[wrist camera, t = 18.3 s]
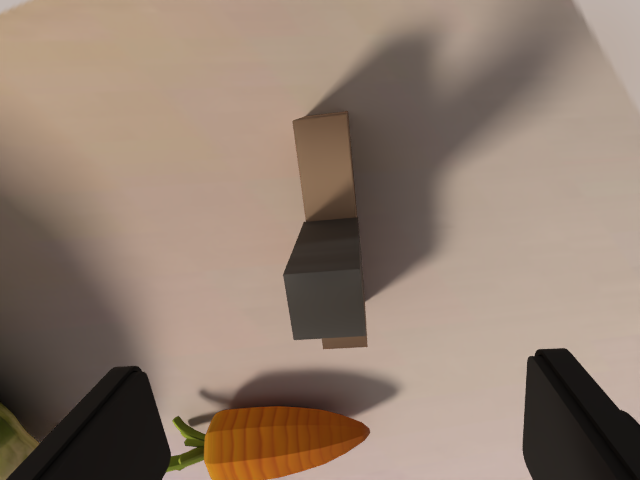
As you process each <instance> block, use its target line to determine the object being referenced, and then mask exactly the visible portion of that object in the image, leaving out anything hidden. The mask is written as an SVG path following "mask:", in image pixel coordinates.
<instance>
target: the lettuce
mask: <svg viewBox="0 0 640 480" xmlns="http://www.w3.org/2000/svg"><path fill="white" fill-rule="evenodd" d="M39 444H40V443H39V442H38V441H36V440H35V439H34V438H33V437H32V436H31V435H29V434H28V433H27V432H26V431H25V429H24V428H23V427H22V425H21V424H20V423H19V421H18V420H17V419H16V417H15V416H14V415H13V413H12V412H10V411H9V410H8V409H7V408H6V407H5V406H4V405H3V404H2V403H1V402H0V480H6V479H7V478H8V477H9V476H10V474H11V473H12V472H13V471H14V470H15V469H16V468H17V467H18V466H19V465H20V464H21V463H22V462H23V461H24V460H25V459H26V458H27V457H28V456H29V455H30V454H31V453H32V451H33V450H34V449H35V448H36V447H37V446H38V445H39Z"/></svg>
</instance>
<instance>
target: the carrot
mask: <svg viewBox="0 0 640 480" xmlns="http://www.w3.org/2000/svg"><path fill="white" fill-rule="evenodd" d="M173 423H174V425H175V426H176V427H177V428H178V430H179V431H180V432H181V434H182V436H184V437H185V438H187V439H186V440H185V442H184V443H185V446H193V447H197V448H195V449H192V450H191V451H189V452H186V453H183V454H181V455H176V456H171V459H170V464H169V467H168V469H167V471H166V472H169V471H173V470H179V471H180V470H182V469H183V468H185V467H187V466H189V465H192V464H195V463H197V462H200V461H202V460H204V461H205V464H206V467H207V469H208V472H209V474H210V477H211V479H212V480H266V479H273V478H279V477H283V476H287V475H290V474H294V473H298V472H301V471H304V470H307V469H310V468H314V467H317V466H320V465H323V464H325V463H327V462H329V461H331V460H333V459H335V458H337V457H339V456H341V455H343V454H345V453H347V452H348V451H350V450H351V449H353V448H354V447H356V446H357V445H359V444H360V443H362V442H363V441H364V440H365V439H366V438H367V436H368V435H369V434H370V429H369V428H368V427H367V426H366V425H364V424H363V423H362V422H359V421H357V420H354V419H351V418H349V417H346V416H344V415H341V414H337V413H333V412H329V411H325V410H319V409H309V408H299V407H283V406H272V407H253V408H241V409H229V410H223V411H220V412H218V413H216V414H215V416H214V417H213V418H212V421H211V423H210V425H209V428H208V430H207V433H206V435H205V434H203V433H201V432H199V431H196V430H194V429H193V428H191V427H189V426H188V425H186V424H185V423H184V422H183V421H182V419H181V418H180V417H179V416H177V417H176V418H174V419H173Z"/></svg>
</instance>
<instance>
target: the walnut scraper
mask: <svg viewBox="0 0 640 480" xmlns="http://www.w3.org/2000/svg"><path fill="white" fill-rule="evenodd" d="M293 129H294V136H295V143H296V151H297V158H298V166H299V173H300V180H301V188H302V195H303V203H304V210H305V217H306V222H304V223H303V226H302V228H301V231H300V234H299V236H298V239H297V241H296V244H295V246H294V249H293V251H292V254H291V256H290V259H289V261H288V264H287V266H286V269H285V271H284V274H283V277H284V283H285V289H286V295H287V301H288V307H289V313H290V320H291V326H292V332H293V338H294V340H303V339H321V338H322V343H323V349H335V348H354V347H367V331H366V314H365V299H364V288H363V271H362V258H361V247H360V236H359V224H358V217H357V209H356V198H355V186H354V175H353V164H352V153H351V141H350V130H349V119H348V111H345V112H337V113H329V114H321V115H312V116H305V117H302V118H299V119H296V120H294V121H293Z"/></svg>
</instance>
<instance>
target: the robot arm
mask: <svg viewBox="0 0 640 480" xmlns="http://www.w3.org/2000/svg"><path fill="white" fill-rule="evenodd" d="M523 456H524V460H525V463H526V466H527V468H528V470H529V472H530V474H531V477H532V479H533V480H640V425H639V424H638V423H637V422H636V420H635V419H634V418H633V417H631V416H630V415H629V414H628V413H627V412H624V411H622V410H619V408H618V407H617V406H616V405H615V404H614V403H613V401H612V400H611V399H610V398H609V397H608V396H607V394H606V393H605V392H604V391H603V390H602V389H601V388H600V386H599V385H598V384H597V383H596V382H595V381H594V379H593V378H592V377H591V376H590V375H589V374H588V372H587V371H586V370H585V369H584V368H583V367H582V365H581V364H580V363H579V362H578V361H577V360H576V359H575V357H574V356H573V355H572V354H571V353H570V352H569V351H568V350H567V349H564V348H560V349H538V350H537V351H536V353H535V356H530V357H529V358H528V361H527V376H526V394H525V412H524V430H523ZM170 459H171V452H170V448H169V445H168V442H167V438H166V435H165V432H164V429H163V425H162V422H161V419H160V415H159V412H158V409H157V406H156V402H155V399H154V396H153V393H152V389H151V386H150V383H149V379H148V376H147V374H146V373H145V372H142V371H141V369H140V368H139V367H137V366H127V367H115V368H113V369H111V370H110V371H109V372H108V373H107V374H106V375H105V376H104V377H103V378H102V379H101V380H100V381H99V383H98V384H97V385H96V386H95V387H94V388H93V389H92V390H91V391H90V392H89V393H88V394H87V395H86V396H85V397H84V398H83V399H82V400H81V401H80V402H79V403H78V404H77V406H76V407H75V408H74V409H73V410H72V411H71V412H70V413H69V414H68V415H67V416H66V417H65V418H64V419H63V420H62V421H61V422H60V423H59V424H58V425H57V426H56V427H55V428H54V430H53V431H52V432H51V433H50V434H49V435H48V436H47V437H46V438H45V439H44V440H43V441H42V442H41V443H40V444H39V445H38V446H37V447H36V448H35V449H34V450H33V451H32V453H31V454H30V455H29V456H28V457H27V458H26V459H25V460H24V461H23V462H22V463H21V464H20V465H19V466H18V467H17V468H16V469H15V470H14V471H13V472H12V473H11V474H10V476H9V477H8V478H7V479H6V480H162V478H163V476H164V474H165V473H166V471H167V469H168V467H169V464H170Z"/></svg>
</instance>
